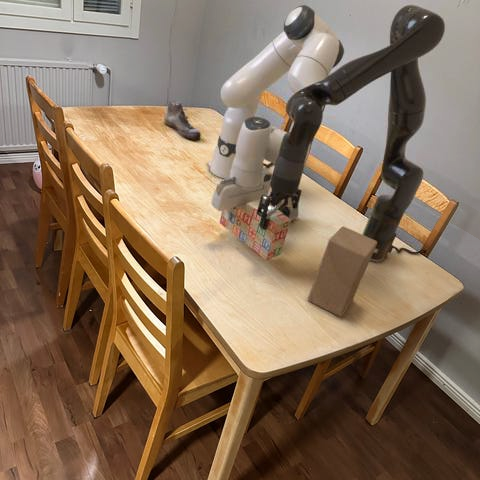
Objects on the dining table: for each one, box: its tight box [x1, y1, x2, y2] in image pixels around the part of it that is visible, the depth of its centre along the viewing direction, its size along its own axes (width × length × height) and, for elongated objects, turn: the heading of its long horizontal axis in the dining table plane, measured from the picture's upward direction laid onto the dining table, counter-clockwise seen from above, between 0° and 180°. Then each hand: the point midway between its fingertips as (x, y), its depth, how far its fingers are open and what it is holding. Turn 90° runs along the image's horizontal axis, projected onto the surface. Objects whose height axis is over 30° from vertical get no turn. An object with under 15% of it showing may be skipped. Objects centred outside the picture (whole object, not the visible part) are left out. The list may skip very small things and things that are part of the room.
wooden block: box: [307, 226, 377, 318], centre depth 116 cm, size 10×10×20 cm
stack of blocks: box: [219, 199, 292, 261], centre depth 129 cm, size 21×6×12 cm, turn 42°
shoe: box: [163, 100, 202, 142], centre depth 205 cm, size 25×11×12 cm, turn 30°
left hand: (236, 215), depth 134 cm, fingers closed on stack of blocks, 6 cm apart
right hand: (273, 225), depth 124 cm, fingers open, 8 cm apart
